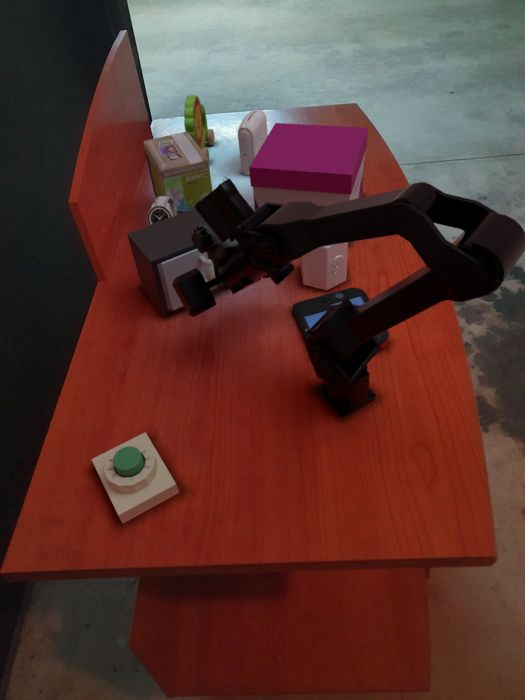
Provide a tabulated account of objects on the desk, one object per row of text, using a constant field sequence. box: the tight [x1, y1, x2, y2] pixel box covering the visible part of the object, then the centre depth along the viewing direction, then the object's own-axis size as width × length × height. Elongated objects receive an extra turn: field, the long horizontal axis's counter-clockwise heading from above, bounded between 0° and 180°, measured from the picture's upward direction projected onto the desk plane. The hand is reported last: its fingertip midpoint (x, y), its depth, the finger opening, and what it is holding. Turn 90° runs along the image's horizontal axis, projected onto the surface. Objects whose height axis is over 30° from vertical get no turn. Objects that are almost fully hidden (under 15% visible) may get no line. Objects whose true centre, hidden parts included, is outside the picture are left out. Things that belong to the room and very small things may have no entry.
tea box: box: [143, 131, 213, 215], centre depth 118 cm, size 15×10×15 cm, turn 22°
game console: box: [292, 287, 390, 350], centre depth 94 cm, size 14×13×2 cm
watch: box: [146, 196, 177, 226], centre depth 110 cm, size 6×8×11 cm
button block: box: [91, 431, 180, 525], centre depth 75 cm, size 10×8×4 cm
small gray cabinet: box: [126, 208, 230, 318], centre depth 102 cm, size 10×18×12 cm, turn 122°
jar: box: [299, 242, 349, 291], centre depth 101 cm, size 9×8×12 cm
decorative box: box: [249, 122, 369, 211], centre depth 114 cm, size 19×19×15 cm
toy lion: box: [183, 94, 215, 162], centre depth 136 cm, size 16×5×15 cm, turn 176°
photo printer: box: [237, 109, 269, 176], centre depth 132 cm, size 10×4×12 cm, turn 160°
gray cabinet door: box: [161, 249, 217, 310], centre depth 96 cm, size 4×9×10 cm, turn 122°
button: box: [113, 446, 144, 477], centre depth 74 cm, size 4×4×2 cm
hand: (218, 285), depth 94 cm, fingers open, 9 cm apart
